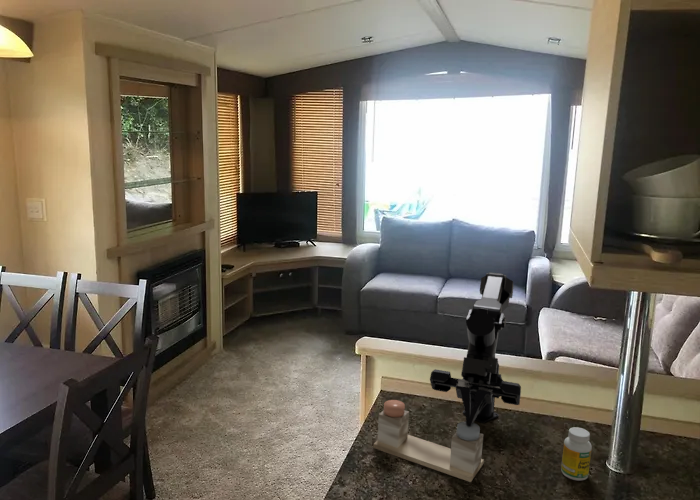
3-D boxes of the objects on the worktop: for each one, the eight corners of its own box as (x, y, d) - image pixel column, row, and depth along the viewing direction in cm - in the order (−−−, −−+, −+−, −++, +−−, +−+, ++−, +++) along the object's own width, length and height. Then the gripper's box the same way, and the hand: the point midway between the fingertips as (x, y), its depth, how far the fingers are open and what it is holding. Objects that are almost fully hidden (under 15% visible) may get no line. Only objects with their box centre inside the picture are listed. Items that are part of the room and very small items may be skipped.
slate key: (460, 434, 121) (461, 419, 120) (481, 440, 119) (482, 425, 118) (452, 443, 117) (453, 428, 116) (474, 450, 115) (475, 434, 114)
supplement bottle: (571, 464, 122) (576, 422, 120) (593, 476, 118) (599, 434, 116) (555, 471, 119) (560, 429, 117) (577, 484, 115) (583, 441, 113)
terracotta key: (389, 411, 129) (390, 398, 129) (407, 417, 127) (408, 403, 126) (379, 420, 126) (380, 405, 125) (398, 425, 123) (399, 411, 123)
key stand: (390, 432, 132) (391, 402, 131) (483, 463, 121) (486, 431, 119) (373, 447, 126) (374, 416, 124) (470, 482, 114) (473, 448, 113)
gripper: (434, 333, 122) (419, 403, 114) (525, 347, 116) (516, 421, 108) (439, 355, 131) (425, 421, 122) (523, 369, 124) (515, 439, 116)
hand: (468, 425), depth 117 cm, fingers closed, pressing on slate key
